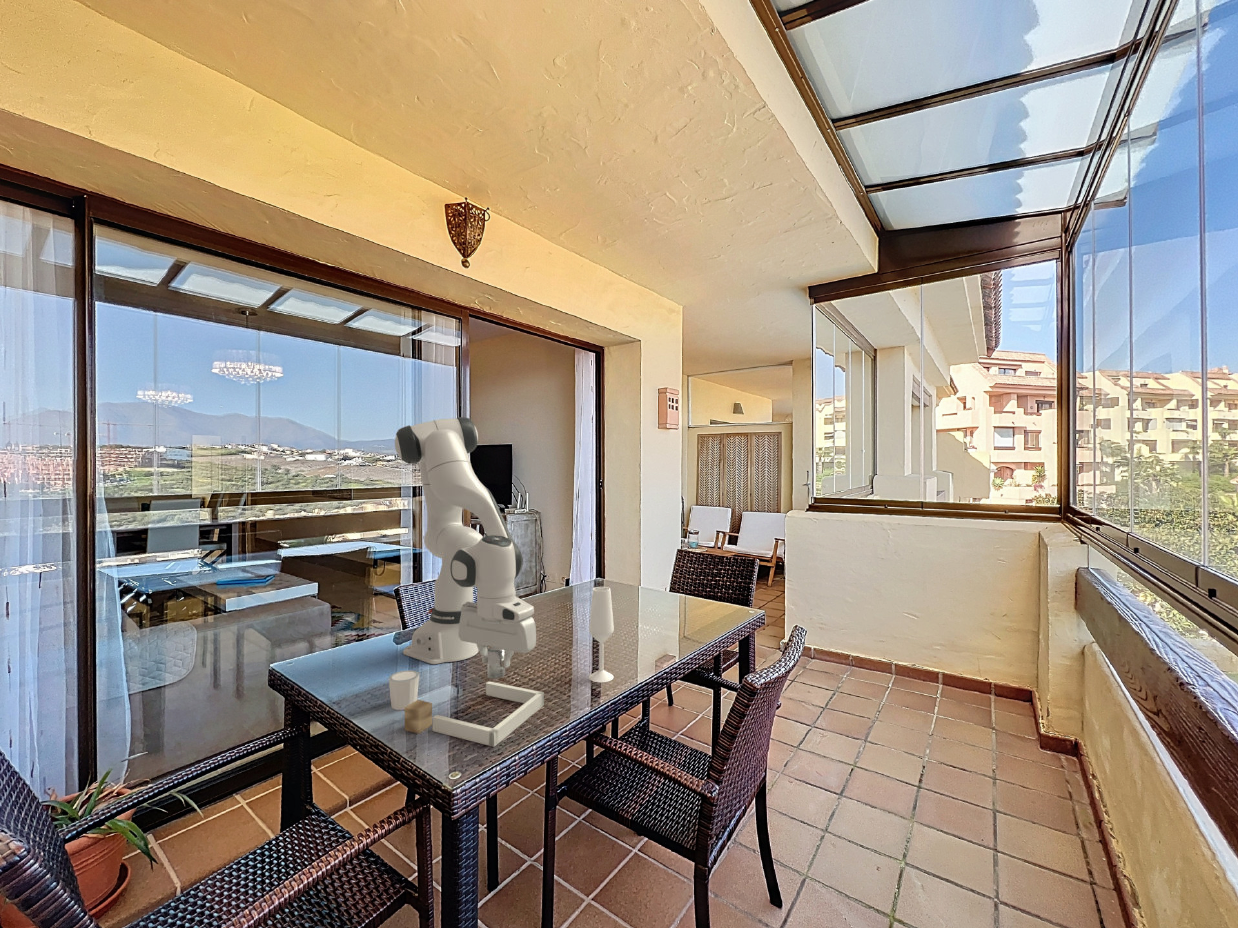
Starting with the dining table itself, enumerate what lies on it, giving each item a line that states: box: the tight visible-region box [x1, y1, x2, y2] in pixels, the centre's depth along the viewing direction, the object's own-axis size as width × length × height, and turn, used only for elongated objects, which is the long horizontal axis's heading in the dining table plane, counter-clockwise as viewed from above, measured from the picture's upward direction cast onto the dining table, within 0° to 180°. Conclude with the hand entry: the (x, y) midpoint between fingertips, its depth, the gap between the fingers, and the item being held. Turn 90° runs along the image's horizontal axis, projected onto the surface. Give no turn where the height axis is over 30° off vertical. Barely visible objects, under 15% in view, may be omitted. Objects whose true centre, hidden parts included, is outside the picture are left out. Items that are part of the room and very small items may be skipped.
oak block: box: [404, 699, 433, 735], centre depth 117 cm, size 4×4×5 cm
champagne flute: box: [588, 586, 615, 683], centre depth 144 cm, size 7×7×24 cm
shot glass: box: [388, 669, 420, 711], centre depth 128 cm, size 7×7×7 cm
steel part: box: [486, 647, 506, 680], centre depth 125 cm, size 4×4×6 cm
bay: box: [432, 681, 545, 747], centre depth 122 cm, size 16×20×3 cm
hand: (496, 664), depth 125 cm, fingers closed on steel part, 4 cm apart
